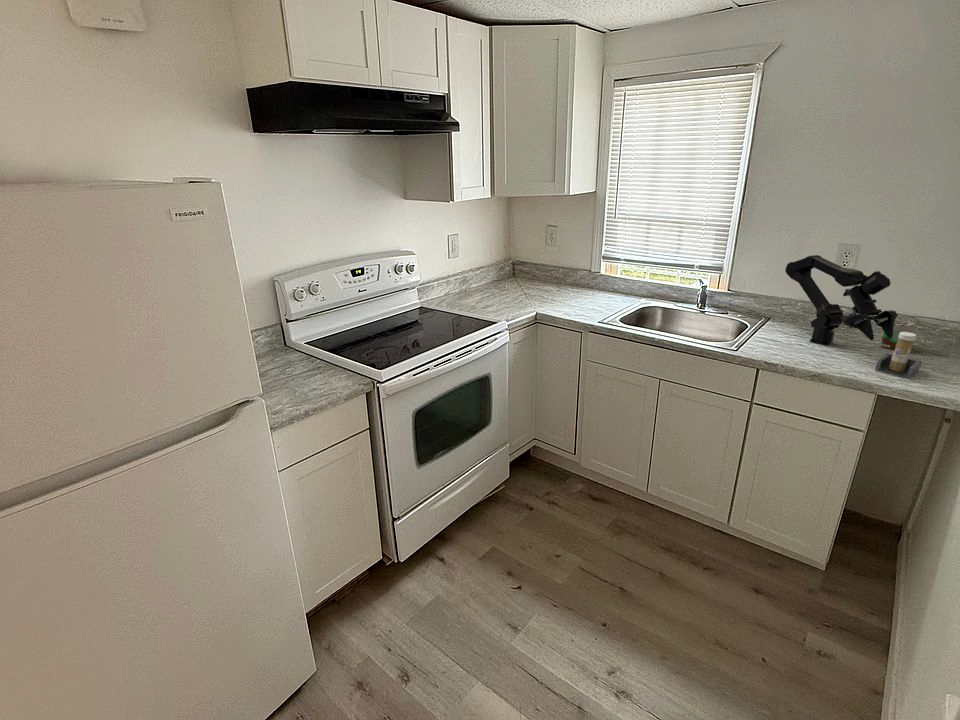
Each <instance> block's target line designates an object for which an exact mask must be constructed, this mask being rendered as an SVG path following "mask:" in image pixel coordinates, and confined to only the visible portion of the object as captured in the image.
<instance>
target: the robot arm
mask: <svg viewBox="0 0 960 720" xmlns="http://www.w3.org/2000/svg"><path fill="white" fill-rule="evenodd" d="M813 269H817V270H818V271H820V272H822V273H825V274H827V275H829V276H830V277H832V278H834V281H835V282H836V283H837V284H838V285H840V286H841V287H844V288H846V287H848V288H846V289H844V292H843V294H842V296H843V297H849V298H850V299H851V302H852V303H853V306H852V313H849V314H844V310H842V309H841V307H840V305H839V304H838V303H836V304H831V303H830V302H829V300H828V299H827V298H826V296H825V295H824V293H823V292H822V291H821V289H820V287H819V286H818V285H817V283H816V282H815V280H814V279H813V277H812V270H813ZM784 272H785V274H786V275H787V276H788V277H789V278H790V279H791V280H793V281H795V282H796V283H798V284H799V286H800V287H801V289H802V290H803V291H804V293H805V295H806V296H807V297H808V299H809V301H810V302H811V303H812V305H813V306H814V308H815V309H816V313H815V316H816V318H814V319H813V320H811V321H810V325H811V326H810V327H811V328H813V331H812V336H811V339H809V342H811V343H815V344H819V345H823V346H828V345H830V344H832V343H833V342H834V339H835V338H834V337H835V335H836V333H835V329H838V328H839V327H840V325H843V326H846V327H848V328H850V329H851V328H854V329H856V330H857V329H858V330H859V331H861V333H862V334H863V335H864V336H865V337H867V338H868V340H870V341H873V340H875V335H874V329H873V325H872V321H874V323H876V324H875V326H878V327H881V329H882V330H883V331H882V332H883V333H884V332H885V334H886V335H887V337H888V338H889V339H891V338H892V337H893V328H894V324H895V320H896V319H897V317H898V313H897V311H895V310H892V309H891V310H890V309H889V310H884V311H882V309H878V307H877V306H876V303H877V300H876V299H877V298H876V299H873V297H872V296H874V295H876V294H878V293H880V292H882V291H883V290H885V289H887V288H888V287H890V286H891V280H890V278H889V277H887V275H885V274H883V273H881V270H877V271H873V272H872V273H870V274H869V275H866V274H864V272H863V271H861V270H859V269H854V268H847V267H843V266H841V265H839V264H836V262H835V263H834V262H832V261H830V260H828V259H826V258H824V257H822V256H821V255H819V254H815V255H808V256H806V257H804V258H801V259H798V260H796V261H791V262H788V263H787V264H786V266H785V271H784ZM849 287H851V288H849ZM871 295H872V296H871Z"/></svg>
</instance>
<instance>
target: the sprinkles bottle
mask: <svg viewBox="0 0 960 720" xmlns="http://www.w3.org/2000/svg"><path fill="white" fill-rule="evenodd" d="M916 339H917V334H916V333H913V332H912V333H909V332H900V334H899V337H898V342H897V345H896V348H895V350H893V353H892V355H893V356H892V360H891V363H890V366H889V369H891V370H894V371H898V372H902V371H904V370H905V366H906V363H907V361H908V358H910V355H911V352H912V349H913V345H914V342H915V341H916Z"/></svg>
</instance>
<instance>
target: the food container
mask: <svg viewBox="0 0 960 720" xmlns="http://www.w3.org/2000/svg"><path fill="white" fill-rule="evenodd" d="M915 331H916V325H915V323H914V322H913V321H910V320H907V321H906V322H901V323H900V322H898V323H894V328H893V337H892V338H891V339H889V338H888V337H887V335H886V334H885V332H884V331H883V334H882V338H881V339H882V340H881V344H880V348H881V347H882V348H881V349H885V348H886V349H885V350H890V349H891V350H890V351H895V348H896V345H897V342H898V337H899V334H900V332H909V333H913V332H915Z"/></svg>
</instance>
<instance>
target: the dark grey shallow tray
mask: <svg viewBox="0 0 960 720" xmlns="http://www.w3.org/2000/svg"><path fill="white" fill-rule="evenodd" d="M892 356H893V353H892V354H891V353H886V354H884V355H883V356H882V357H880V358H879V359H877V362H876V366H875V369H874V371H875V370H876V371H875V372H879V371H880V372H879V373H882V374H883V373H884V374H887V375H890V376H891V375H892V376H896V377H898V376H899V378H902V377H903V378H904V379H906V378H907V380H911V379H912V378H914V376H916V375H917V374H918V373H919V372H920V368H921V365H922V363H923V361H922V360H918V359H913V358H910V357H909V358H908V361H907V363H906V366H905V370H904V371H902V372H898V371H894V370H891V369H889V366H890V363H891V360H892ZM917 372H918V373H917ZM916 373H917V374H916ZM910 378H911V379H910Z"/></svg>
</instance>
